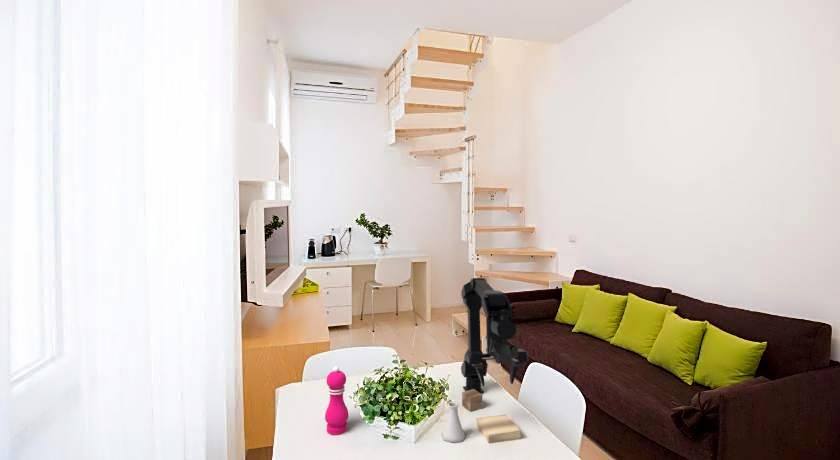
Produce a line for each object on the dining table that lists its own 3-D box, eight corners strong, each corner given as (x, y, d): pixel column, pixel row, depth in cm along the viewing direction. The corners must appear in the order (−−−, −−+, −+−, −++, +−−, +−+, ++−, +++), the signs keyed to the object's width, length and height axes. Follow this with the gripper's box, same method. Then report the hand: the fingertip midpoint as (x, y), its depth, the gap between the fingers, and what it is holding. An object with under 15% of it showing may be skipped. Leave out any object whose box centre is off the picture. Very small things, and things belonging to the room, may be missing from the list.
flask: (464, 444, 119) (464, 411, 118) (439, 441, 120) (439, 408, 120) (466, 431, 126) (466, 399, 125) (443, 429, 127) (443, 397, 127)
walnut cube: (462, 406, 142) (462, 392, 142) (473, 402, 145) (473, 389, 145) (470, 412, 138) (470, 397, 138) (482, 408, 140) (482, 394, 140)
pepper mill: (325, 437, 123) (324, 372, 122) (324, 425, 130) (323, 363, 129) (349, 434, 125) (349, 369, 124) (347, 422, 131) (346, 361, 131)
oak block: (476, 427, 129) (476, 418, 129) (505, 423, 131) (505, 414, 131) (488, 445, 119) (488, 435, 119) (520, 440, 122) (520, 430, 121)
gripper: (473, 339, 118) (475, 395, 117) (534, 336, 121) (537, 390, 120) (464, 333, 129) (465, 383, 128) (520, 330, 132) (522, 379, 131)
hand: (497, 384), depth 126 cm, fingers open, 9 cm apart
